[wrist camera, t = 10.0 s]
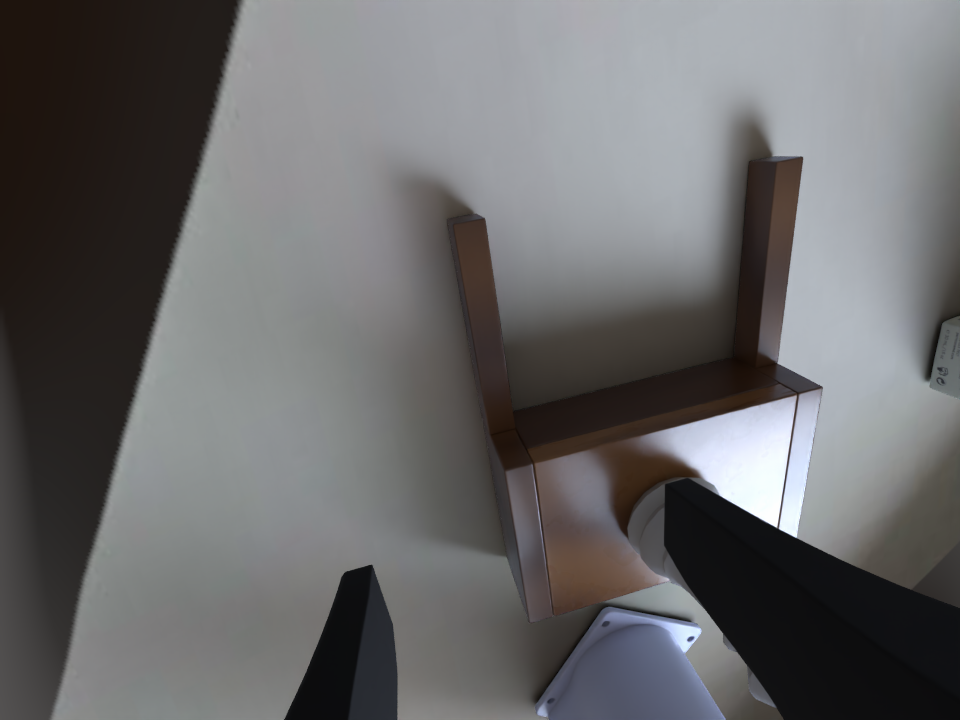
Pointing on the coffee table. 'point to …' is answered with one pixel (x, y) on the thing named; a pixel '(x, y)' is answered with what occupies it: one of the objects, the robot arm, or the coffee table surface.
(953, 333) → the cosmetic box
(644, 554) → the rook chess piece
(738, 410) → the brown u-shaped piece
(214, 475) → the coffee table surface
